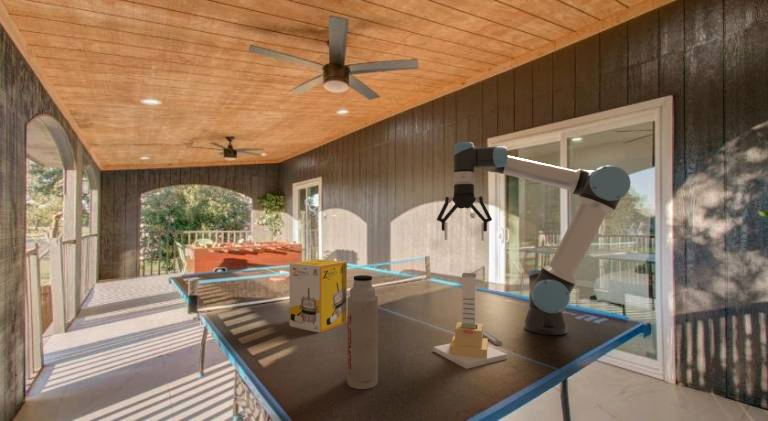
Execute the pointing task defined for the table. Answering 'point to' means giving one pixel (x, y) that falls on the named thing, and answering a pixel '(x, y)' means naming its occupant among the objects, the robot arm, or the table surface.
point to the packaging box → (318, 294)
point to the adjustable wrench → (491, 338)
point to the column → (469, 300)
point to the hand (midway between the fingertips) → (464, 240)
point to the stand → (469, 348)
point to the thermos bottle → (362, 334)
